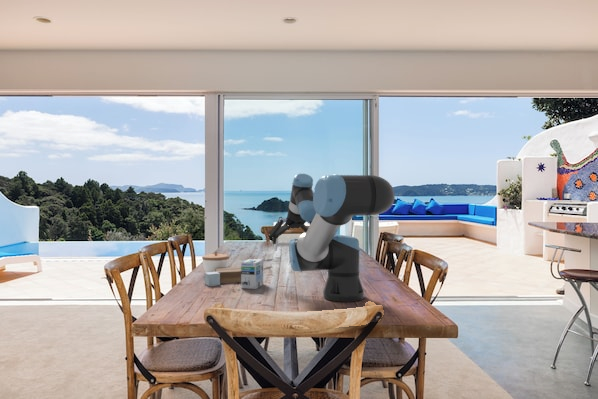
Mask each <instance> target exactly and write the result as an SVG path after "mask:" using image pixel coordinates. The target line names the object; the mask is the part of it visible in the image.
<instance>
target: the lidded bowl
mask: <svg viewBox="0 0 598 399" xmlns="http://www.w3.org/2000/svg"><path fill="white" fill-rule="evenodd" d="M229 264H230V255H229V254H225V253H218V251H214V253H211V254H210V253H209V254H204V255H202V267H203V269H204V271H205V272H204V273H206V272H215V268H225V267H230V266H229Z"/></svg>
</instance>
